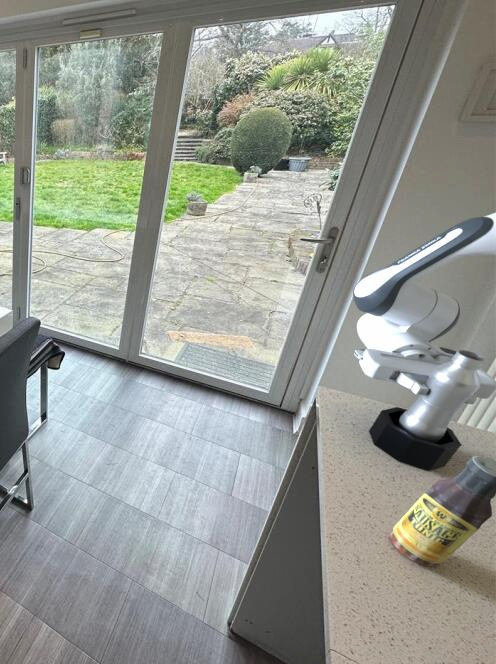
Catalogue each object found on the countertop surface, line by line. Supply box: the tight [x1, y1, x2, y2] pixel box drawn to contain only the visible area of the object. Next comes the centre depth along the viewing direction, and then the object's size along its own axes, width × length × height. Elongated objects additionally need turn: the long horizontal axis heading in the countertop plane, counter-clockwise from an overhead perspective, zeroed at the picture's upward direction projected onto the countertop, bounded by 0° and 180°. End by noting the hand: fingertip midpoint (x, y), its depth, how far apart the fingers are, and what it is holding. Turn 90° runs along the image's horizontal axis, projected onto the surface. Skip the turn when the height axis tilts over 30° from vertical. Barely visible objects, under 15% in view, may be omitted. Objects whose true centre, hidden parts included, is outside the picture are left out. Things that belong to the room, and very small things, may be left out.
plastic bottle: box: [398, 349, 486, 443], centre depth 79 cm, size 6×7×20 cm
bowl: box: [368, 406, 462, 472], centre depth 84 cm, size 11×11×6 cm
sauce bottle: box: [389, 455, 496, 567], centre depth 61 cm, size 6×6×20 cm
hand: (446, 396), depth 78 cm, fingers closed on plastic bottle, 6 cm apart
